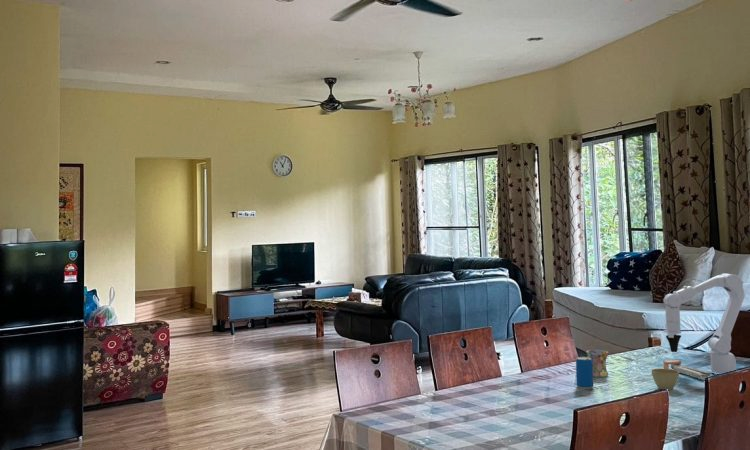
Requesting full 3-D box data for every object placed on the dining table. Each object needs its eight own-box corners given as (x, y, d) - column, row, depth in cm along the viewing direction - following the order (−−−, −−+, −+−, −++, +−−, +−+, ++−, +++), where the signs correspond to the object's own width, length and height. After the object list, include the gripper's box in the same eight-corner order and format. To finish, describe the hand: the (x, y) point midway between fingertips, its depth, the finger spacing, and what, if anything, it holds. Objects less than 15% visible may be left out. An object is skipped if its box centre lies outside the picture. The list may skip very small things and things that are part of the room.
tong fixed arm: (674, 368, 279) (674, 363, 279) (710, 378, 258) (710, 372, 258) (666, 369, 277) (666, 364, 278) (701, 379, 257) (701, 373, 257)
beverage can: (594, 389, 245) (593, 359, 245) (577, 389, 246) (576, 359, 247) (592, 385, 252) (591, 356, 252) (575, 385, 253) (574, 356, 253)
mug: (596, 372, 275) (595, 349, 276) (613, 376, 267) (613, 352, 268) (578, 376, 269) (577, 352, 270) (595, 380, 261) (594, 355, 262)
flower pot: (676, 393, 236) (676, 374, 236) (649, 390, 242) (648, 371, 243) (682, 387, 244) (681, 369, 244) (655, 384, 250) (654, 367, 250)
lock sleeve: (677, 368, 279) (676, 360, 279) (680, 369, 276) (680, 361, 276) (663, 369, 277) (663, 361, 277) (667, 370, 274) (667, 362, 275)
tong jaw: (675, 371, 271) (675, 367, 271) (681, 371, 271) (680, 366, 271) (700, 379, 255) (700, 374, 255) (706, 379, 255) (706, 374, 255)
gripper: (665, 318, 279) (666, 348, 279) (660, 322, 267) (661, 353, 267) (682, 319, 275) (684, 349, 275) (678, 323, 263) (679, 355, 263)
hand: (674, 351), depth 270 cm, fingers closed
